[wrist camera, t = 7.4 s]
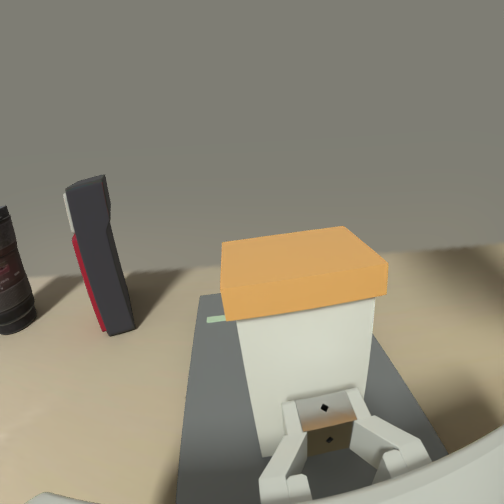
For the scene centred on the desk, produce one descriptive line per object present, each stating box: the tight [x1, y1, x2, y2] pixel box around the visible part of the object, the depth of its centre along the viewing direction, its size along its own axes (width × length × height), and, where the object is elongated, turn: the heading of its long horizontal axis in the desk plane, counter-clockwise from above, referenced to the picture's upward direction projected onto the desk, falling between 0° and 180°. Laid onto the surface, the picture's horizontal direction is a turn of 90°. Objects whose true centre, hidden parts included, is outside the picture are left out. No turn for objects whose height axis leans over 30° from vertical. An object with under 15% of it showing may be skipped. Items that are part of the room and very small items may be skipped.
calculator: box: [63, 175, 135, 336], centre depth 31 cm, size 11×4×15 cm, turn 26°
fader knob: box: [220, 226, 388, 457], centre depth 14 cm, size 6×5×10 cm
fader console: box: [176, 293, 449, 504], centre depth 21 cm, size 14×24×1 cm, turn 5°
